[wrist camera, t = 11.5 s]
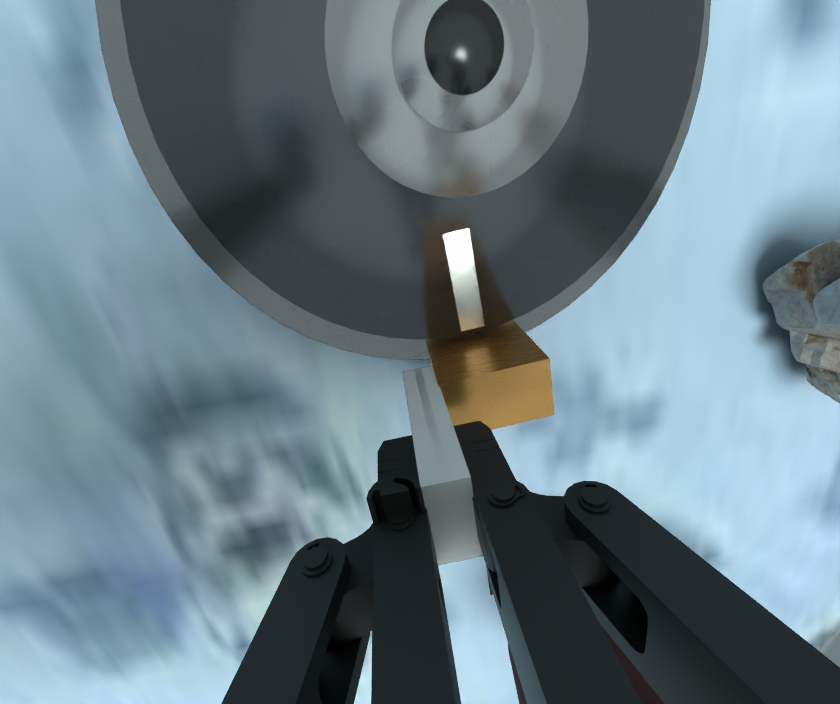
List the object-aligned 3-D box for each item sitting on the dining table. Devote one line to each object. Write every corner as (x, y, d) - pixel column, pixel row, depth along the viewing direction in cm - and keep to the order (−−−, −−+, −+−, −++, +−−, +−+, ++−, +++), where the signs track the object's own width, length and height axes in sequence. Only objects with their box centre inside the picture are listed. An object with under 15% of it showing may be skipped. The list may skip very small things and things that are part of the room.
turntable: (296, 410, 19) (269, 482, 15) (32, -214, 11) (-235, -515, 6) (651, 325, 19) (736, 371, 14) (677, -378, 10) (908, -809, 6)
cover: (371, 216, 14) (368, 226, 11) (301, -36, 11) (273, -109, 8) (560, 166, 14) (607, 163, 11) (540, -102, 11) (595, -199, 8)
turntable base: (125, 308, 17) (117, 312, 17) (69, -586, 9) (49, -636, 8) (570, 386, 21) (575, 391, 21) (820, -190, 13) (839, -206, 12)
